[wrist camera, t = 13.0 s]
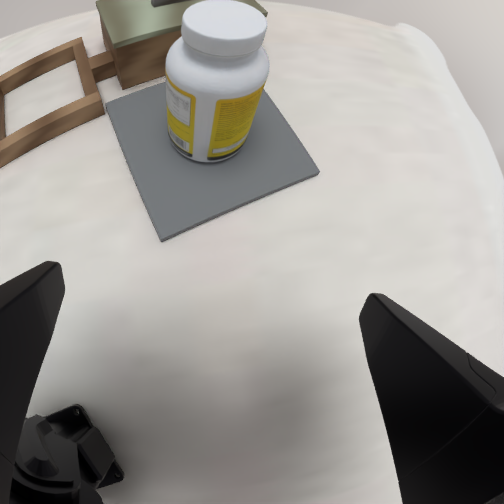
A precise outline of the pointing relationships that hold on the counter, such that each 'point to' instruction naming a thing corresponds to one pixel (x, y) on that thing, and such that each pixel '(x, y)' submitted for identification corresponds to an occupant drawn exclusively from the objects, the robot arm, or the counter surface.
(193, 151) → the pill bottle
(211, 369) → the counter surface
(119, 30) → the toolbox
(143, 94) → the slate mat
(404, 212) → the counter surface
